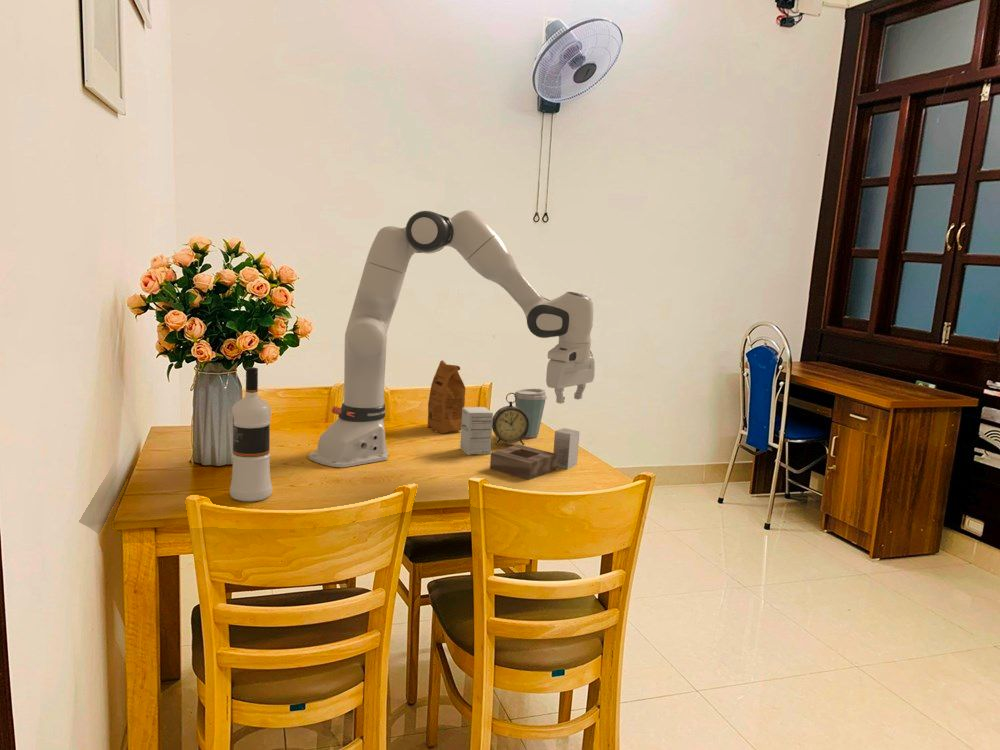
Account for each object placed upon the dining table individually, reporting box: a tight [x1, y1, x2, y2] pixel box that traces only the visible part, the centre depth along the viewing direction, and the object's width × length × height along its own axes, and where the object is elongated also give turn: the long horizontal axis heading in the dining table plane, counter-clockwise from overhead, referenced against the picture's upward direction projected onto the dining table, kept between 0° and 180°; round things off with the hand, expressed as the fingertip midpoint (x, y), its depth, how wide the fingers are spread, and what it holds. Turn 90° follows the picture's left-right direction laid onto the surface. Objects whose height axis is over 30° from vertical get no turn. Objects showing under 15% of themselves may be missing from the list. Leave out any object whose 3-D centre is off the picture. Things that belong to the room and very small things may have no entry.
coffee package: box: [427, 359, 466, 434], centre depth 245 cm, size 10×12×22 cm
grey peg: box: [552, 427, 581, 470], centre depth 213 cm, size 5×5×10 cm
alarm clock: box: [492, 392, 529, 446], centre depth 232 cm, size 11×5×16 cm, turn 102°
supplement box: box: [459, 406, 494, 456], centre depth 222 cm, size 7×7×13 cm
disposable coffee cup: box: [513, 388, 548, 439], centre depth 244 cm, size 11×11×15 cm
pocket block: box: [489, 443, 557, 481], centre depth 208 cm, size 13×13×4 cm
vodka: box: [229, 366, 273, 503], centre depth 172 cm, size 9×9×30 cm
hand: (569, 401), depth 211 cm, fingers open, 8 cm apart
